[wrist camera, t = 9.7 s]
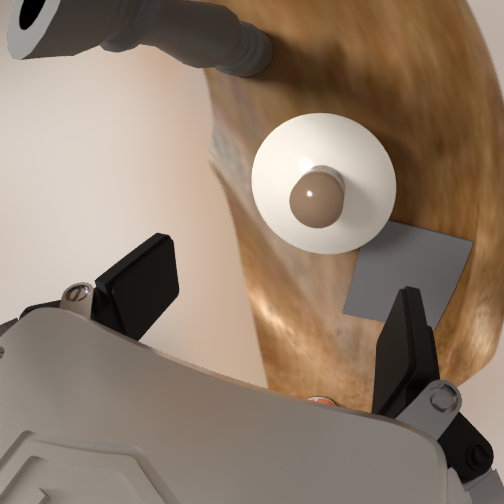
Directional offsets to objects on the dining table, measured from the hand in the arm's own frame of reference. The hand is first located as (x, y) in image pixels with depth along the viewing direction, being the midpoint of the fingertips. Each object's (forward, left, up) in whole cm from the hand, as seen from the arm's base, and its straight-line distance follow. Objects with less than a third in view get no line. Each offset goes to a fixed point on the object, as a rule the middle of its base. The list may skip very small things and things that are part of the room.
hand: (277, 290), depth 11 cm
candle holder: (-13, -10, -22) cm, 28 cm away
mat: (+11, +12, -22) cm, 27 cm away
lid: (0, 0, -17) cm, 17 cm away
